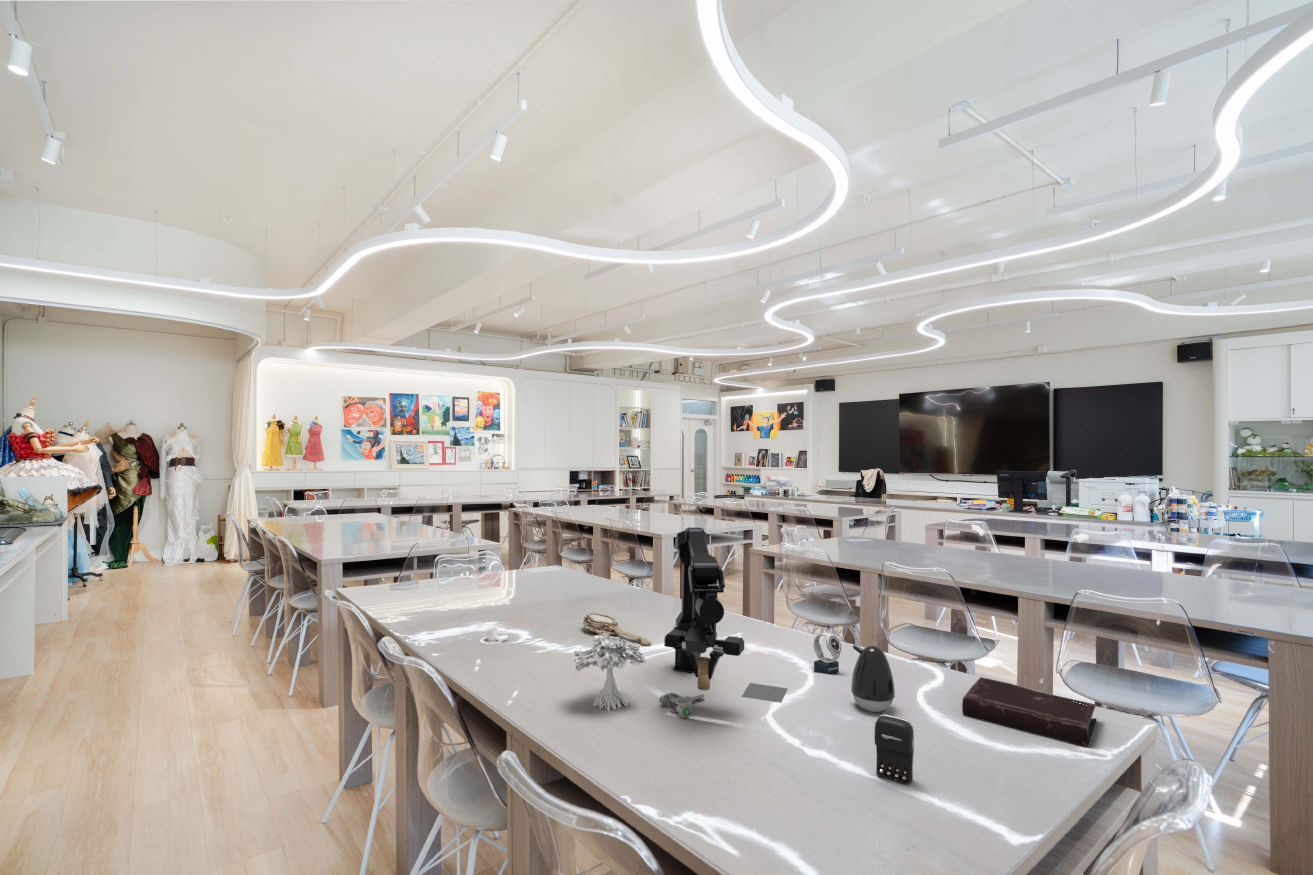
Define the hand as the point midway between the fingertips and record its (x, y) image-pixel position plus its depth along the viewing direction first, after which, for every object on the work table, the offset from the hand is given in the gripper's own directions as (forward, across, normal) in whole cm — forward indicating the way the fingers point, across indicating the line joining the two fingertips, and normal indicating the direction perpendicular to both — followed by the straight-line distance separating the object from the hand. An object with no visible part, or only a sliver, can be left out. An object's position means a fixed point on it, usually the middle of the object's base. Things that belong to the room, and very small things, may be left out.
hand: (703, 677), depth 152 cm
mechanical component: (+6, -1, +5) cm, 8 cm away
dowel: (+2, 0, 0) cm, 2 cm away
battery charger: (+8, +43, -16) cm, 47 cm away
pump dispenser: (+8, +38, +18) cm, 43 cm away
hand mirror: (+8, -44, +47) cm, 65 cm away
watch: (+8, +25, +39) cm, 47 cm away
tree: (+8, -23, -4) cm, 25 cm away
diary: (+9, +73, +26) cm, 78 cm away
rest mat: (+8, +12, +15) cm, 21 cm away
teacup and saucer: (+9, -78, +25) cm, 83 cm away
